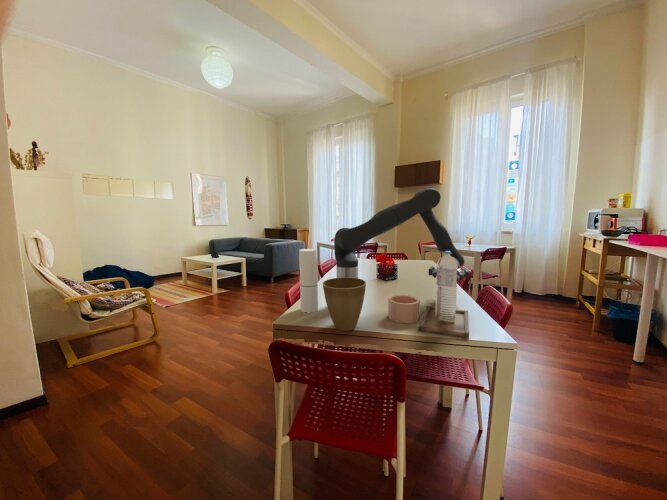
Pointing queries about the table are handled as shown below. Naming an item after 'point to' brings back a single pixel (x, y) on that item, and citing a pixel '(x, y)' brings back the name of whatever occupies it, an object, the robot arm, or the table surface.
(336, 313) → the plant pot
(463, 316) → the tray
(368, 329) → the table surface
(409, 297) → the holder cup
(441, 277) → the water bottle
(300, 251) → the cylindrical container
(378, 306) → the table surface
